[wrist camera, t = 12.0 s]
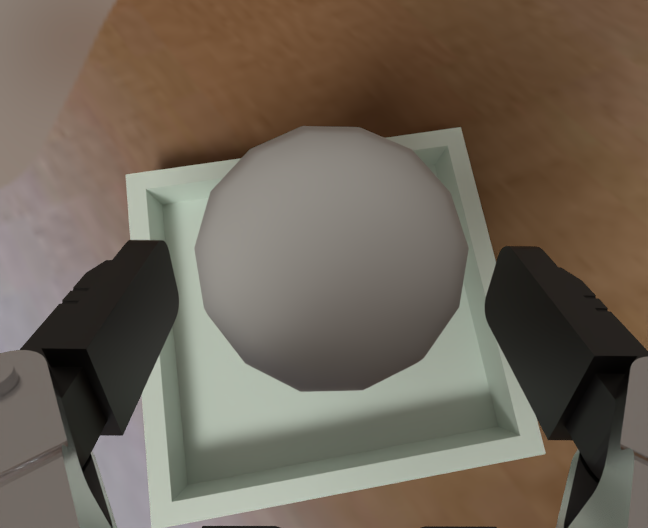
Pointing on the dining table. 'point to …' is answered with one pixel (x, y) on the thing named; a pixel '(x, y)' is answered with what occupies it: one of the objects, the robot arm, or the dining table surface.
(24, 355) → the robot arm
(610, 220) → the dining table surface
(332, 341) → the salt shaker
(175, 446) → the tray
